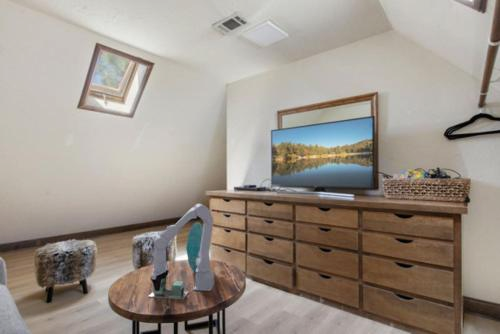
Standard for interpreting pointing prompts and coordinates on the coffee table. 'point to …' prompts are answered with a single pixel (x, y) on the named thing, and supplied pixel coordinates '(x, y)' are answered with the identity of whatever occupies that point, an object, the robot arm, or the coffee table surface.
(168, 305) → the coffee table surface
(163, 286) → the block
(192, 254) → the crystal
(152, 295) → the rail
